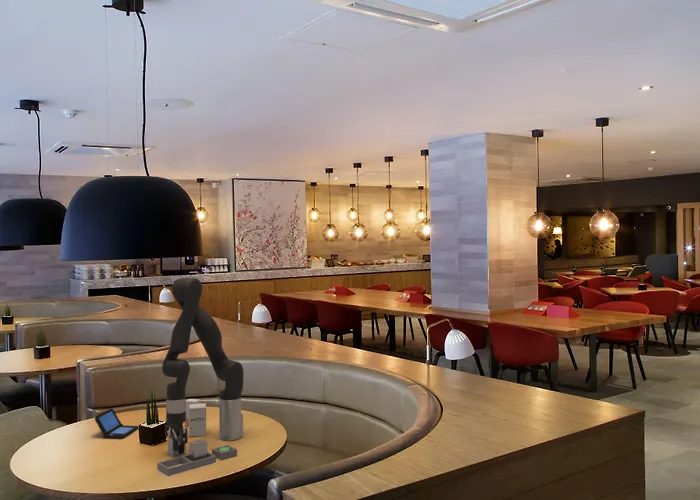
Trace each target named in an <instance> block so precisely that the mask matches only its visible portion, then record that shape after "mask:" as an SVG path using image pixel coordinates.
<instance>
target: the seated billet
mask: <svg viewBox="0 0 700 500" xmlns="http://www.w3.org/2000/svg"><path fill="white" fill-rule="evenodd" d="M207 452H208V440H205V439H203V438H200V439H195V440H192V441H188V455H189V460H191V461H192V462H193V461H197V460H200V459H204V458H207Z"/></svg>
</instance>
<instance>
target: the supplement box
mask: <svg viewBox="0 0 700 500" xmlns="http://www.w3.org/2000/svg"><path fill="white" fill-rule="evenodd" d="M188 435H189V436H188V437H189V438H191V437H192V438H193V437H202V436H204V437H205V436H207V404H206V402H205V403H203V402H202V403H200V404H189V427H188Z"/></svg>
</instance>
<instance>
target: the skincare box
mask: <svg viewBox="0 0 700 500" xmlns="http://www.w3.org/2000/svg"><path fill="white" fill-rule="evenodd" d="M185 400H186V421H185V422H184V428H187V427H188V428H189V404H201V399H198V398H188V399H185Z"/></svg>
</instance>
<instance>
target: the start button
mask: <svg viewBox="0 0 700 500" xmlns="http://www.w3.org/2000/svg"><path fill="white" fill-rule="evenodd" d="M220 447H221V448H220V449H219V451H221V452H225V451H228V450H230V448H229V447H222V446H220Z"/></svg>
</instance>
